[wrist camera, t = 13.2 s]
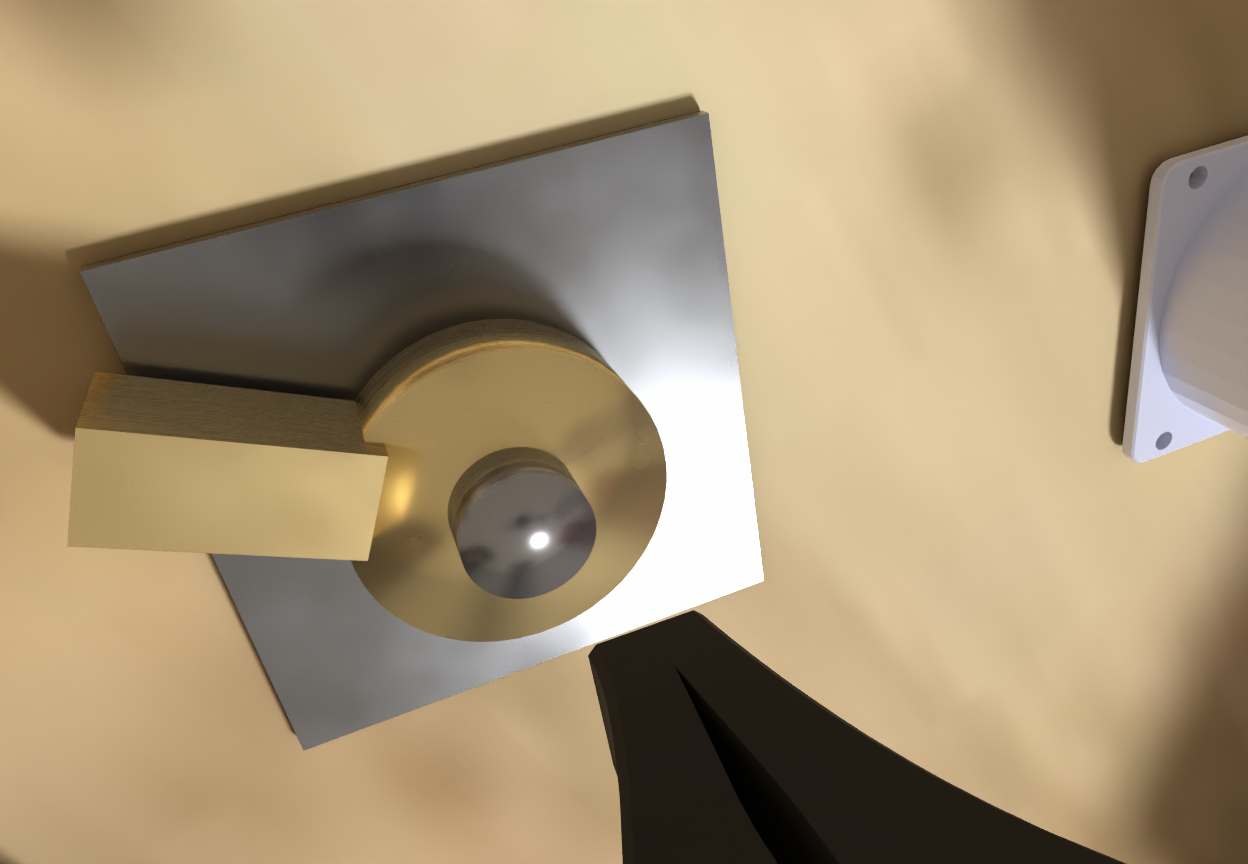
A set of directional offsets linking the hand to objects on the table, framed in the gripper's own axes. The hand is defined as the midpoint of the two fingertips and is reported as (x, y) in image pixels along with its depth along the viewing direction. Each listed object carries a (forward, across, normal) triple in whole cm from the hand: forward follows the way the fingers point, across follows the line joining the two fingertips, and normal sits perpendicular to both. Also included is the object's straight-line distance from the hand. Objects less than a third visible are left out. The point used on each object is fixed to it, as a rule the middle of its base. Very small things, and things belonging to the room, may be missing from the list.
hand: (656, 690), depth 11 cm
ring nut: (+8, +2, 0) cm, 9 cm away
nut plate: (+9, 0, +1) cm, 9 cm away
